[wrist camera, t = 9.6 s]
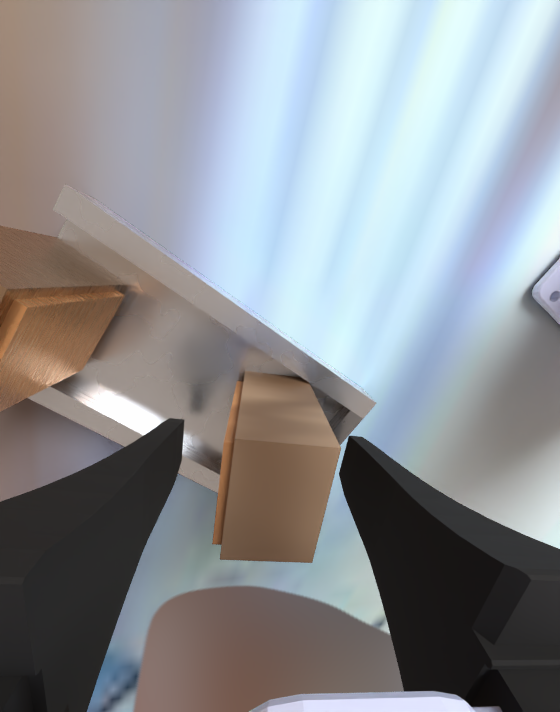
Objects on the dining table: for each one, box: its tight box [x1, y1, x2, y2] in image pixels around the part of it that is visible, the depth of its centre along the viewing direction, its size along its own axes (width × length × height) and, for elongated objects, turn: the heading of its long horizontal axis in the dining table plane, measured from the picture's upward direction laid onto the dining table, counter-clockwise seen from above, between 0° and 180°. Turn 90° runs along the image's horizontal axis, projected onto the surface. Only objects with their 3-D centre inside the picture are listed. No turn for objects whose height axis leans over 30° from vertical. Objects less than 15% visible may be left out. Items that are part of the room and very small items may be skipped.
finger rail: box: [0, 184, 376, 493], centre depth 10 cm, size 15×8×6 cm, turn 54°
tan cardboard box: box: [212, 371, 341, 563], centre depth 10 cm, size 3×4×6 cm
